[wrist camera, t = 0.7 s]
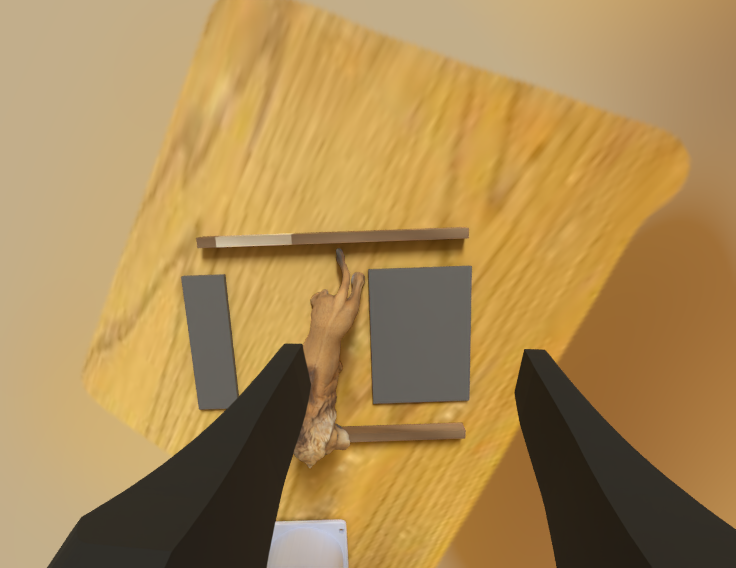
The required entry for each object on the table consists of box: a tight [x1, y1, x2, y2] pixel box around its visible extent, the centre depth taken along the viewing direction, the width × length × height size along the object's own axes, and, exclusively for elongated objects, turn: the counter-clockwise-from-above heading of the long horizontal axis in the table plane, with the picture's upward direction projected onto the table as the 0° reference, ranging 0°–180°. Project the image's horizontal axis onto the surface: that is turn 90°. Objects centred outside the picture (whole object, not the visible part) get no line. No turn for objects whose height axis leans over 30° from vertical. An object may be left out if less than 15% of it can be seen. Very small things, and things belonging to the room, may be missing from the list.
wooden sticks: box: [196, 227, 469, 442], centre depth 33 cm, size 18×22×1 cm
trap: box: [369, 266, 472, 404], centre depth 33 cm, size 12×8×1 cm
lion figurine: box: [294, 248, 365, 468], centre depth 29 cm, size 15×5×9 cm, turn 174°
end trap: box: [181, 274, 239, 409], centre depth 33 cm, size 12×4×1 cm, turn 2°
